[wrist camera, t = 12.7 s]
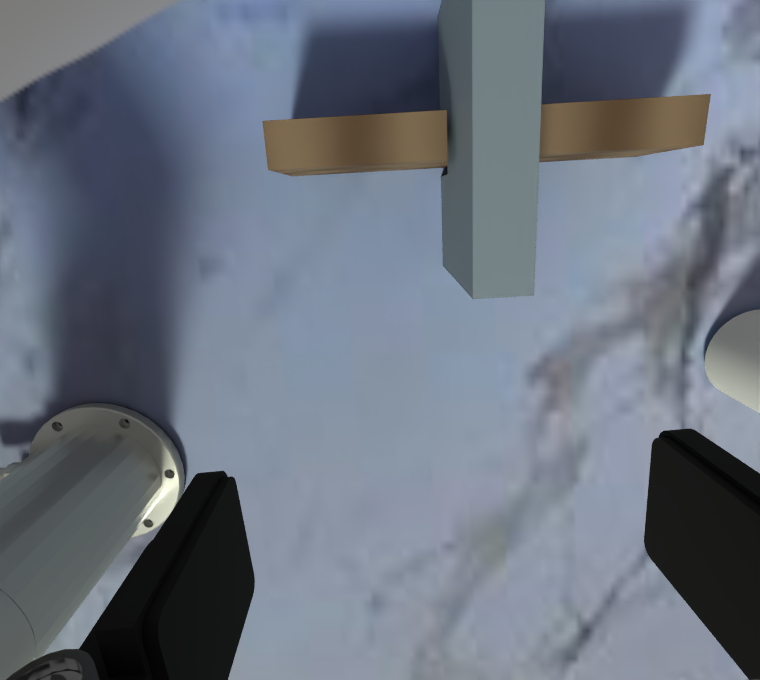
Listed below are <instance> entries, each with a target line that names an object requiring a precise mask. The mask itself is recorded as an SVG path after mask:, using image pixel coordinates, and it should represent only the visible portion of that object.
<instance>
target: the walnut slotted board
mask: <svg viewBox="0 0 760 680" xmlns="http://www.w3.org/2000/svg"><path fill="white" fill-rule="evenodd" d="M710 95H711V94H705V95H689V96H672V97H655V98H638V99H622V100H605V101H588V102H572V103H555V104H541V123H540V150H539V162H550V161H567V160H585V159H602V158H620V157H637V156H642V155H648V154H654V153H660V152H666V151H671V150H677V149H683V148H689V147H694V146H700V145H704V138H705V131H706V124H707V117H708V109H709V102H710ZM263 129H264V138H265V146H266V155H267V164H268V170H271V171H274V172H278V173H282V174H286V175H290V176H304V175H321V174H339V173H356V172H374V171H392V170H409V169H427V168H444V167H448V160H447V110H438V111H421V112H405V113H388V114H371V115H355V116H338V117H321V118H304V119H288V120H271V121H263Z"/></svg>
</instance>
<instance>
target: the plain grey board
mask: <svg viewBox="0 0 760 680" xmlns="http://www.w3.org/2000/svg"><path fill="white" fill-rule="evenodd" d="M544 15H545V0H442V4H441V7H440V10H439V14H438V50H439V98H440V110H447V160H448V174H447V175H444V176H442V177H441V194H442V241H443V266H444V267H445V269H446V270H447V271H448V272H449V273H450V274H451V275H452V276H453V277H454V279H455V280H456V281H457V282H458V283H459V284H460V285H461V286H462V287H463V289H464V290H465V291H466V292H467V293H468V294H469V295H470V296H471V297H472V299H481V298H499V297H516V296H533V295H534V284H535V258H536V231H537V204H538V177H539V150H540V123H541V96H542V69H543V42H544Z"/></svg>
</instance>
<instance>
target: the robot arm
mask: <svg viewBox="0 0 760 680" xmlns="http://www.w3.org/2000/svg"><path fill="white" fill-rule="evenodd" d="M184 479H185V475H184V469H183V463H182V461H181V458H180V455H179V453H178V451H177V449H176V447H175V446H174V444H173V442H172V441H171V439H170V438H169V437H168V436H167V435H166V434H165V433H164V431H163V430H162V429H161V428H159V427H158V426H157V425H156V424H155V423H153V422H152V421H151V420H149V419H148V418H146V417H144V416H143V415H141V414H139V413H137V412H135V411H133V410H130V409H127V408H125V407H122V406H117V405H112V404H106V403H89V404H82V405H77V406H74V407H71V408H69V409H66V410H64V411H63V412H61V413H59V414H58V415H56V416H54V417H53V418H52V419H50V420H49V421H48V422H46V423H45V424H44V425H43V426H42V427H41V428H40V430H39V431H38V432H37V433H36V435H35V437H34V439H33V441H32V444H31V446H30V452H29V456H28V457H27V458H26V459H24V460H23V461H21V462H14V463H12V464H9V465H8V466H7V467H6V468H0V680H228V677H229V674H230V670H231V667H232V664H233V660H234V657H235V654H236V650H237V647H238V643H239V640H240V637H241V633H242V630H243V627H244V623H245V620H246V617H247V613H248V610H249V607H250V603H251V600H252V597H253V593H254V584H255V581H254V572H253V567H252V562H251V557H250V551H249V546H248V541H247V536H246V531H245V526H244V521H243V516H242V511H241V506H240V500H239V495H238V490H237V485H236V481H235V479H234V477H227V474H226V473H225V472H224V471H216V472H205V473H197V474H196V475H195V477H194V478H193V480H192V481H191V483H190V484H189V486H188V487H187V489H186V490H185V492H184V493H183V490H184ZM182 493H183V495H182ZM164 522H165V523H164ZM162 523H164V524H163V526H162V527H161V529H160V530H159V532H158V533H157V535H156V536H155V538H154V539H153V540H152V541H151V542H150V543H149V544H148V545H147V547H146V548H145V550H144V551H143V553H142V554H141V556H140V557H139V559H138V560H137V562H136V563H135V565H134V566H133V568H132V569H131V571H130V573H129V574H128V576H127V577H126V579H125V580H124V582H123V583H122V585H121V586H120V588H119V589H118V591H117V592H116V594H115V595H114V597H113V598H112V600H111V601H110V603H109V604H108V606H107V607H106V609H105V610H104V612H103V614H102V615H101V617H100V618H99V620H98V621H97V623H96V624H95V626H94V627H93V629H92V630H91V632H90V633H89V635H88V636H87V638H86V639H85V641H84V642H83V644H82V645H81V647H80V648H79V649H64V650H60V651H56V652H53V653H49V654H47V655H44V656H42V655H43V654H44V653H45V651H46V650H47V649H48V647H49V646H50V645H51V643H52V642H53V641H54V639H55V638H56V637H57V635H58V634H59V633H60V631H61V630H62V629H63V627H64V626H65V625H66V623H67V622H68V621H69V619H70V618H71V617H72V615H73V614H74V613H75V611H76V610H77V609H78V607H79V606H80V605H81V603H82V602H83V601H84V599H85V598H86V597H87V595H88V594H89V593H90V591H91V590H92V589H93V587H94V586H95V585H96V583H97V582H98V581H99V579H100V578H101V577H102V575H103V574H104V573H105V571H106V570H107V569H108V567H109V566H110V565H111V563H112V562H113V561H114V559H115V558H116V557H117V555H118V554H119V553H120V551H121V550H122V549H123V547H124V546H125V545H126V544H127V542H128V541H129V540H130V538H131V537H136V536H139V535H143V534H146V533H148V532H150V531H152V530H154V529H156V528H158V527H159V526H160V525H161V524H162ZM644 543H645V548H646V551H647V553H648V555H649V557H650V558H651V560H652V561H653V562H654V563H655V564H656V566H657V567H658V568H659V569H660V571H661V572H662V573H663V574H664V576H665V577H666V578H667V579H668V580H669V582H670V583H671V584H672V585H673V587H674V588H675V589H676V590H677V592H678V593H679V594H680V595H681V596H682V598H683V599H684V600H685V601H686V603H687V604H688V605H689V606H690V607H691V609H692V610H693V611H694V612H695V614H696V615H697V616H698V617H699V619H700V620H701V621H702V622H703V623H704V625H705V626H706V627H707V628H708V630H709V631H710V632H711V633H712V634H713V636H714V637H715V638H716V639H717V641H718V642H719V643H720V644H721V646H722V647H723V648H724V649H725V650H726V652H727V653H728V654H729V655H730V657H731V658H732V659H733V660H734V661H735V663H736V664H737V665H738V666H739V668H740V669H741V670H742V671H743V673H744V674H745V675H746V676H747V677H748V679H749V680H760V474H759V473H758V472H757V471H755V470H754V469H752V468H751V467H749V466H748V465H746V464H745V463H743V462H742V461H740V460H739V459H737V458H736V457H734V456H733V455H731V454H730V453H728V452H727V451H725V450H724V449H722V448H721V447H719V446H718V445H716V444H715V443H713V442H712V441H710V440H709V439H707V438H706V437H704V436H703V435H701V434H700V433H698V432H697V431H695V430H693V429H680V430H669V431H663V432H661V433H660V435H659V438H656V439H654V441H653V443H652V451H651V463H650V475H649V487H648V499H647V511H646V523H645V535H644Z"/></svg>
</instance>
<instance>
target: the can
mask: <svg viewBox="0 0 760 680" xmlns="http://www.w3.org/2000/svg"><path fill="white" fill-rule="evenodd" d="M705 370H706V374H707V376H708V378H709V380H710V382H711V383H712V384H713V385H714V387H716V388H717V389H718V390H720V391H721V392H723V393H725V394H726V395H728V396H730V397H732V398H734V399H735V400H737V401H739V402H741V403H742V404H744V405H746V406H748V407H749V408H751V409H753V410H755V411H757V412H758V413H760V310H752V311H748V312H745V313H742V314H740V315H738V316H736V317H734V318H732V319H731V320H729V321H728V322H727V323H725V324H724V325H723V326H722V327H721V328H720V329H719V330H718V331H717V332H716V334H715V335H714V336H713V338H712V340H711V341H710V343H709V345H708V348H707V351H706V355H705Z"/></svg>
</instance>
